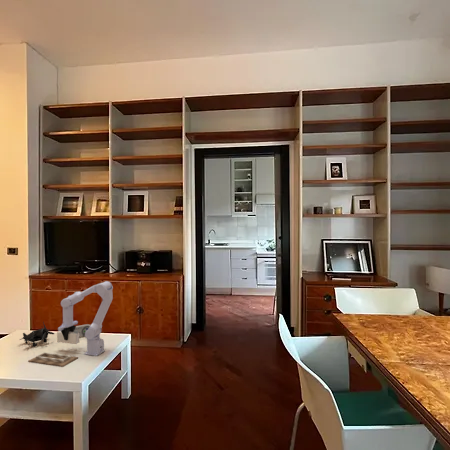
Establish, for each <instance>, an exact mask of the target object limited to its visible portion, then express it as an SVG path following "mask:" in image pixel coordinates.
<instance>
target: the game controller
mask: <svg viewBox="0 0 450 450" xmlns="http://www.w3.org/2000/svg"><path fill="white" fill-rule="evenodd" d="M75 326H76V328H75V330H76V331H78V333H79V338H80V337H85V332H86V331H87V330H88V329H89V327H90V326H91V324H88V323H87V324H82V325H75Z"/></svg>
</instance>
